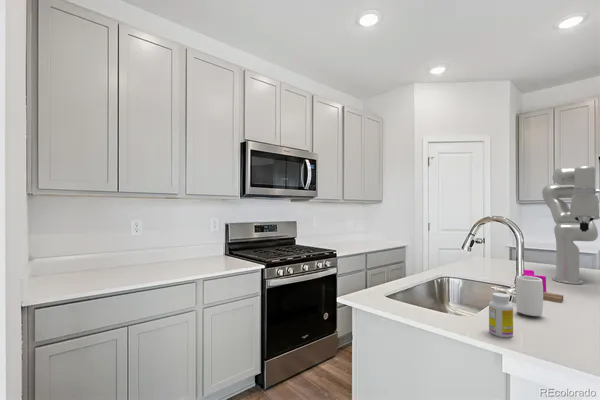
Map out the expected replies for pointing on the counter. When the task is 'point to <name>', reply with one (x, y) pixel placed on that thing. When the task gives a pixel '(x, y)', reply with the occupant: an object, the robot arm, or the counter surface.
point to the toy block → (531, 273)
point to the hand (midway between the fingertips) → (584, 231)
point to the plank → (552, 297)
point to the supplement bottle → (501, 315)
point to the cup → (529, 295)
